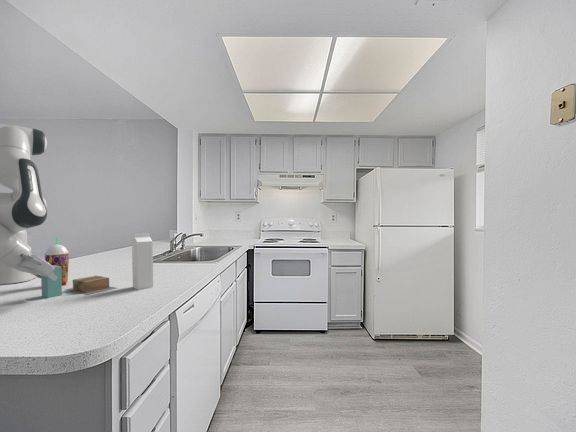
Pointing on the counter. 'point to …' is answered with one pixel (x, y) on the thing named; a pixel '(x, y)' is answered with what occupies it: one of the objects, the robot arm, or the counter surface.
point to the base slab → (90, 284)
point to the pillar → (52, 284)
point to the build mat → (92, 291)
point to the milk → (142, 261)
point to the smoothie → (59, 259)
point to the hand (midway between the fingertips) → (48, 277)
